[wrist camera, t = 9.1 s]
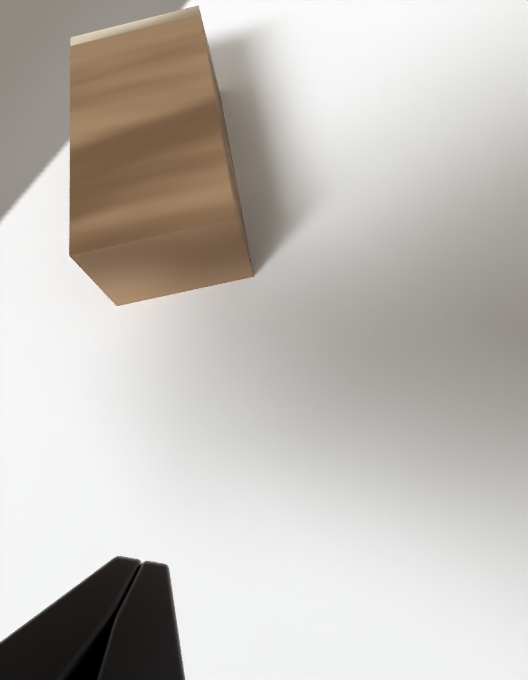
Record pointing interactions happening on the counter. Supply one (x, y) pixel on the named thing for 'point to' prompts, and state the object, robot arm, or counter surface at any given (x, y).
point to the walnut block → (151, 162)
